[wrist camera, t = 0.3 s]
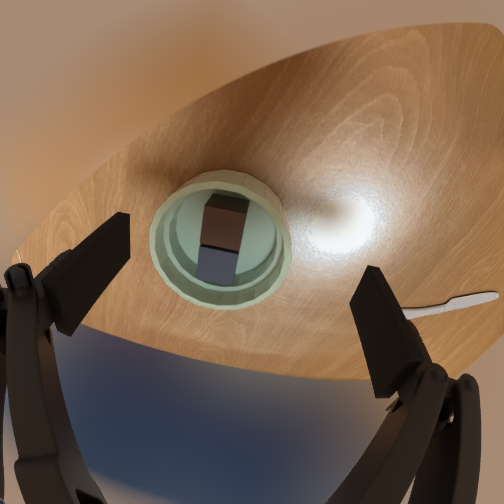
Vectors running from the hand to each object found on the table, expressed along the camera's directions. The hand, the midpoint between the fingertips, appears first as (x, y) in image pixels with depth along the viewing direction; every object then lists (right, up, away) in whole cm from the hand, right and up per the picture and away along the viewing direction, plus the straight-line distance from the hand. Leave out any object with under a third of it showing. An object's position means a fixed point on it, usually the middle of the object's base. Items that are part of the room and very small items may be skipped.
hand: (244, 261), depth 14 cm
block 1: (-2, +4, +11) cm, 12 cm away
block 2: (-3, +1, +13) cm, 14 cm away
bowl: (-2, +3, +13) cm, 13 cm away
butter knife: (+27, -7, +16) cm, 32 cm away
